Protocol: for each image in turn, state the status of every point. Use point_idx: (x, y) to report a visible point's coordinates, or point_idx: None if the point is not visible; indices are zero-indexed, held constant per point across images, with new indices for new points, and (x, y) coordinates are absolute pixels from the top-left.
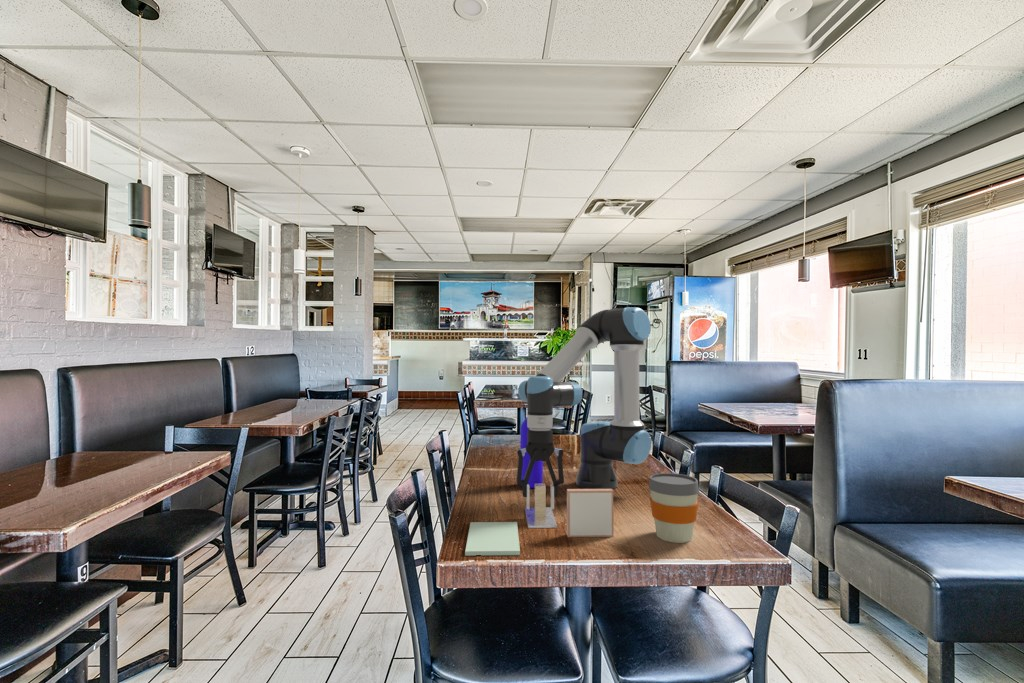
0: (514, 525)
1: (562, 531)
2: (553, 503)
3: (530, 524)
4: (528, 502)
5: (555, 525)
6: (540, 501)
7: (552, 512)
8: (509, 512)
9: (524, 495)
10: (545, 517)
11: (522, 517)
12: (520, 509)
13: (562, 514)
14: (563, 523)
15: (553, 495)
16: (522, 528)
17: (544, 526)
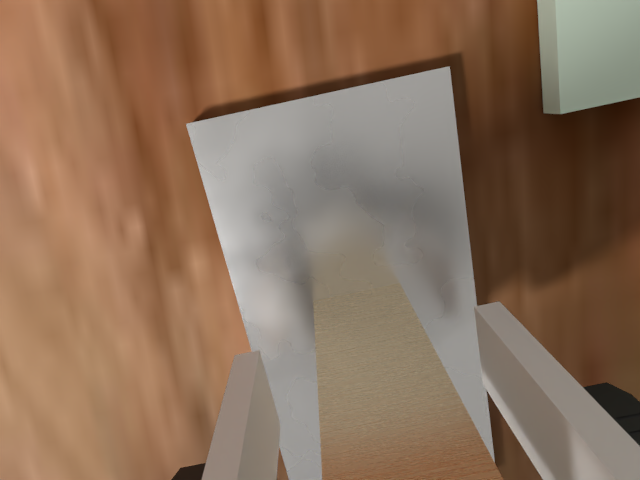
0: (584, 5)
1: (128, 37)
2: (232, 389)
3: (430, 102)
4: (515, 339)
5: (201, 121)
6: (379, 370)
7: None
8: None
9: (609, 398)
10: (315, 300)
11: None
12: (525, 471)
13: (200, 430)
14: (157, 240)
15: (215, 455)
16: (492, 50)
17: (300, 99)
